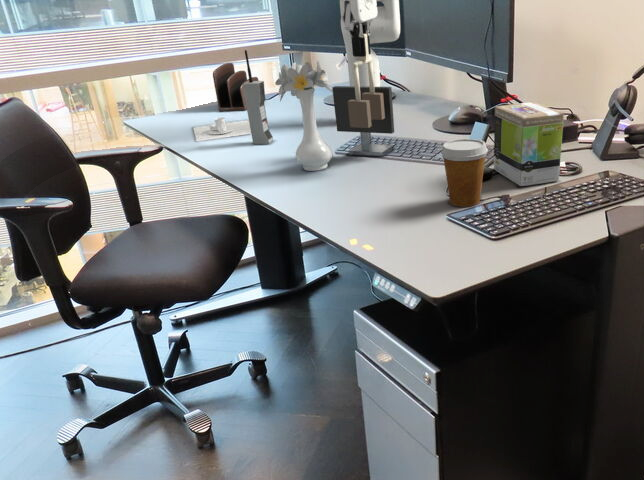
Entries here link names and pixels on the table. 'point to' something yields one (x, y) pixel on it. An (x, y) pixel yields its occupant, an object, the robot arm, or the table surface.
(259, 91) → the vintage mobile phone
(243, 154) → the table surface
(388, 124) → the monitor
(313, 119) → the flower vase
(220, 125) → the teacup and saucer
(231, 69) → the letter holder
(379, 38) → the robot arm
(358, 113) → the headphones
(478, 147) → the disposable coffee cup
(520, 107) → the tea box
